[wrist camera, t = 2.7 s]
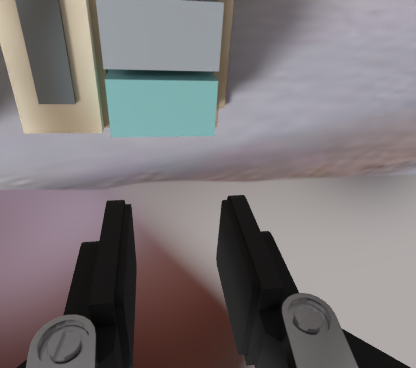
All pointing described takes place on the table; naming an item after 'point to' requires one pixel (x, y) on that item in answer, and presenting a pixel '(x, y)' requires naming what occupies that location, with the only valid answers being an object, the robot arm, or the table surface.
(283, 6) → the table surface
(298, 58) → the table surface
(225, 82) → the tan wooden box
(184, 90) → the teal key
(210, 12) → the slate key
